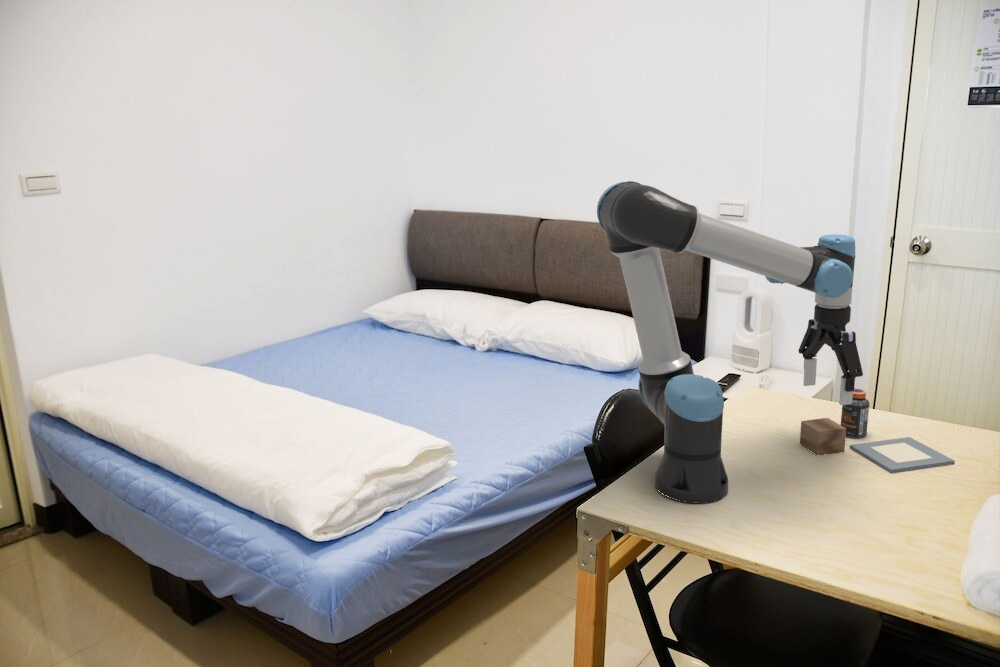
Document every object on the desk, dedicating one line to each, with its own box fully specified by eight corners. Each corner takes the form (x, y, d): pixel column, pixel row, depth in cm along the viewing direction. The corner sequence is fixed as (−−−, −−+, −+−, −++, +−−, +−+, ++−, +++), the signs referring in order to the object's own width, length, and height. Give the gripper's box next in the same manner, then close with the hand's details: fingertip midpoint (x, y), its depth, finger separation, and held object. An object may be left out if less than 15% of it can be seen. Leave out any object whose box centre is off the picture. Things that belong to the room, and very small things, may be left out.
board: (891, 473, 169) (891, 469, 169) (849, 448, 182) (850, 444, 182) (954, 463, 172) (954, 460, 172) (909, 440, 185) (909, 436, 185)
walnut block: (817, 456, 179) (819, 432, 177) (799, 444, 185) (801, 421, 184) (844, 452, 180) (846, 428, 179) (825, 441, 187) (827, 417, 185)
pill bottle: (834, 432, 191) (838, 388, 188) (851, 427, 194) (855, 384, 191) (854, 440, 186) (858, 396, 183) (872, 435, 188) (876, 391, 186)
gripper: (885, 315, 163) (877, 410, 168) (814, 292, 186) (809, 376, 192) (854, 319, 161) (846, 414, 167) (786, 294, 185) (781, 379, 190)
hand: (826, 394), depth 179 cm, fingers open, 13 cm apart
